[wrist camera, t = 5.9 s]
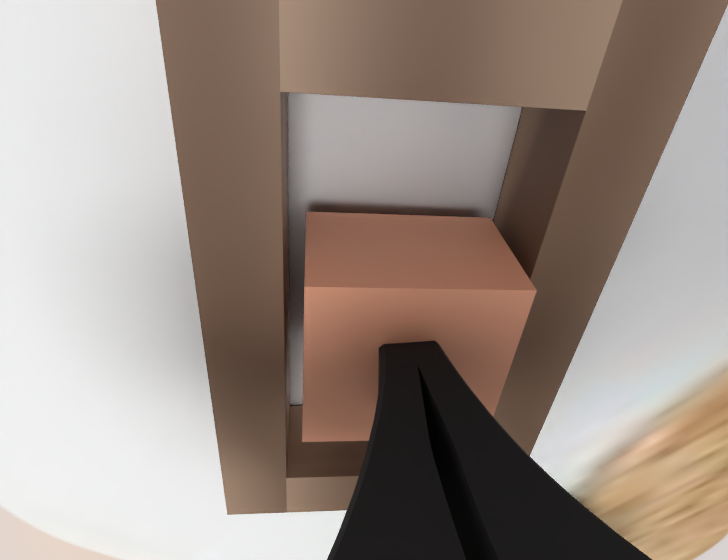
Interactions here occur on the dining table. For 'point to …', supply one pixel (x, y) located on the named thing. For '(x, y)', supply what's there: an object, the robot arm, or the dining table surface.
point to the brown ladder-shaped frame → (426, 83)
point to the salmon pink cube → (403, 308)
